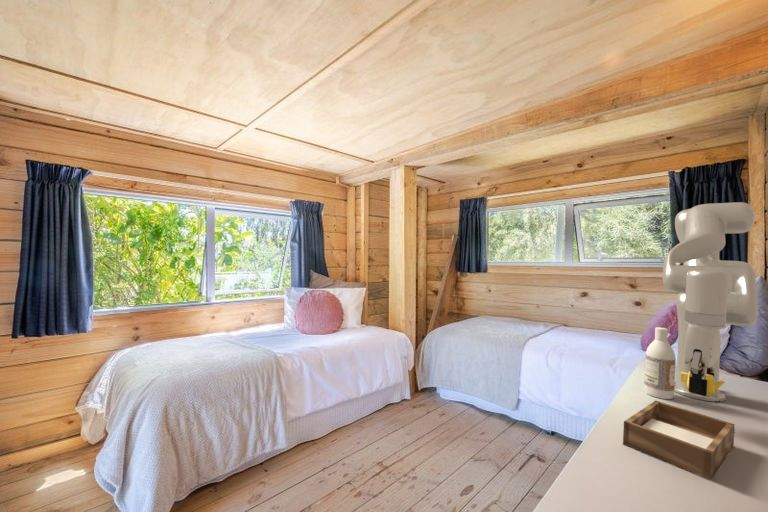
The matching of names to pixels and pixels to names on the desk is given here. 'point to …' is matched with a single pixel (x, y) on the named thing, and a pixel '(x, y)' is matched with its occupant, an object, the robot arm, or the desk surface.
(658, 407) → the box
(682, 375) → the teapot
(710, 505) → the desk surface
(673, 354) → the bath foam
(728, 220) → the robot arm
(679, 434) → the plate
